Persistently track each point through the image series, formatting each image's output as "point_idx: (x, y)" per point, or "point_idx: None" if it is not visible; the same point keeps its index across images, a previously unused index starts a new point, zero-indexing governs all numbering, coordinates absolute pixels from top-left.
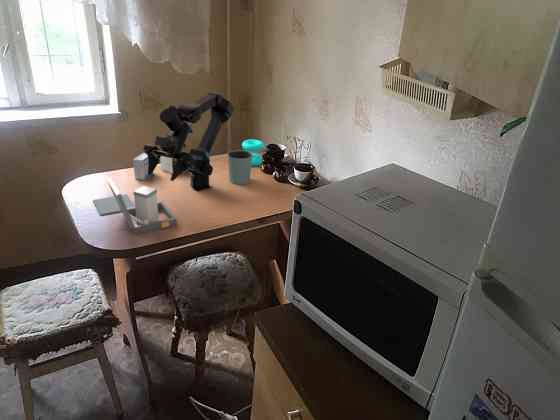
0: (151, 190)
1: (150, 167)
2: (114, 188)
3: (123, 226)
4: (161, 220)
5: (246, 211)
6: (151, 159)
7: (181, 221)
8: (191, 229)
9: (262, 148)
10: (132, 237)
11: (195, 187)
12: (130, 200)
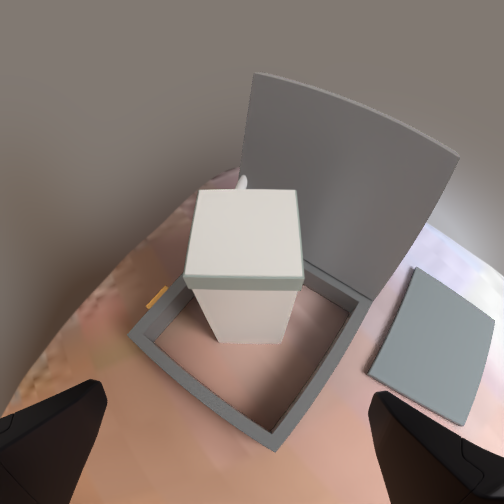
0: (204, 243)
1: (409, 429)
2: (319, 89)
3: None
4: (173, 297)
5: None
6: (482, 486)
7: (135, 375)
8: (85, 336)
9: None
10: None
11: None
12: (423, 403)
